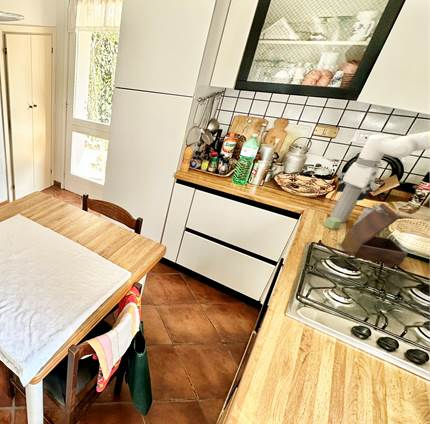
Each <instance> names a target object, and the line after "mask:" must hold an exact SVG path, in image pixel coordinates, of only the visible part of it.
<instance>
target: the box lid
mask: <svg viewBox="0 0 430 424" xmlns="http://www.w3.org/2000/svg"><path fill="white" fill-rule="evenodd" d="M371 208H373V209H374V210H373V211H372V212H370V213H369V214H368V215H367V216H365V217H364V218H363V219H361V220H360V221H359V222H358V223H356V222H355V223H356V224H355V223H354V225H352V226H351V227H350V228H348V231H350V233H351V234H352V235H353V236H354V237H355V238H356V239H357V241H358V242H359V243H360V244H361V245H363V244H365V243H366V242H367V241H369V240H370V239H371V238H373V237H374V236H378V234H380V233H381V232H383V231H384V230H386V229H387V228H388V227H390V226H391V225H392V224H393V223H395V222H396V221H397V220H399V219H401V215H399V214H398V213H397V212H396V211H394V210H393V209H391V207H389V206H388V205H387V204H385V203H383V202H382V203H381V204H379V205H378V204H373V205H372V207H371Z"/></svg>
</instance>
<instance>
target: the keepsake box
mask: <svg viewBox="0 0 430 424" xmlns="http://www.w3.org/2000/svg"><path fill="white" fill-rule="evenodd" d="M340 246H341V248H342V249H343V251H344V252H345V253H346V254H347V256H348V257H349V256H351V255H353V256H355V257H360V258H363V259H366V260H370V261H372V262H374V263H376V262H379V260H381V259H382V260H383V263H384V266H383V267H385V266H387V267H386V268H390V267H391V268H390V269H393V268H392V267H393V265H394V264H397V265H398V266H399V267H400V266H401V265H402V263H403V262H404V261H405V260H406V258H407V256H408V253H407V251H405V249H403V248H402V247H401V246H400V245H399V243H397V242H396V241H395V240H394V239H393V238H392V237H391V238H390V237H386V236H381V235H380V236H379V235H376V236H374V237H373V238H371V239H370V240H369V241H367V242H366V243H365V244H363V245H361V244H360V243H359V242H358V241H357V239H356V238H355V237H354V236H353V235H352V234H351V233H350V231H349V230H348V231H347V232H346V235H345V236H344V238H343V240H342V242H341V243H340ZM350 254H351V255H350Z"/></svg>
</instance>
